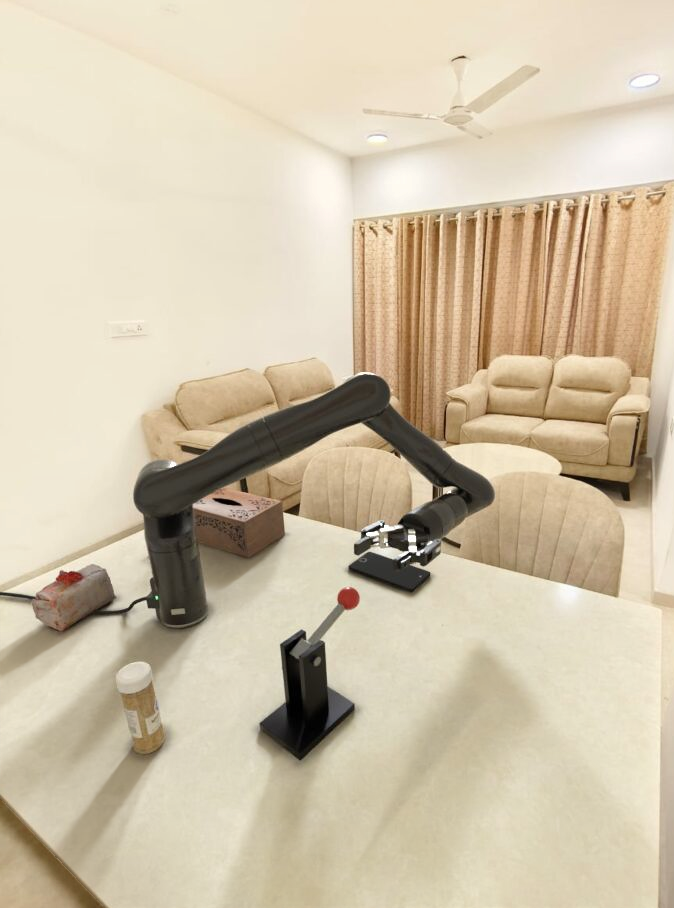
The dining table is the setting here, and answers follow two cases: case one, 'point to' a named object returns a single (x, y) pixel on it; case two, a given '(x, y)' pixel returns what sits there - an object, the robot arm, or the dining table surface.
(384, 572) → the cell phone
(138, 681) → the sprinkles bottle
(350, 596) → the lever
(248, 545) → the tissue box cover
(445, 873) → the dining table surface
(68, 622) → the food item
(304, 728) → the bracket
